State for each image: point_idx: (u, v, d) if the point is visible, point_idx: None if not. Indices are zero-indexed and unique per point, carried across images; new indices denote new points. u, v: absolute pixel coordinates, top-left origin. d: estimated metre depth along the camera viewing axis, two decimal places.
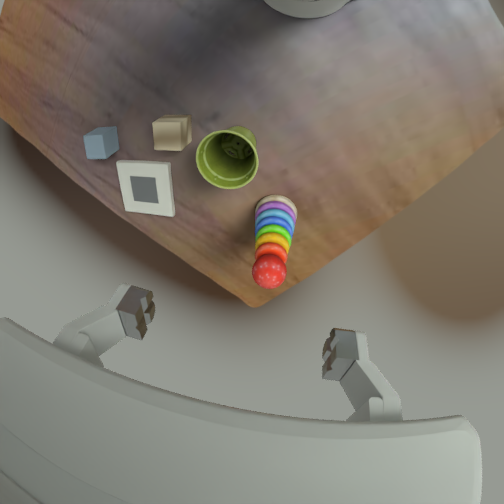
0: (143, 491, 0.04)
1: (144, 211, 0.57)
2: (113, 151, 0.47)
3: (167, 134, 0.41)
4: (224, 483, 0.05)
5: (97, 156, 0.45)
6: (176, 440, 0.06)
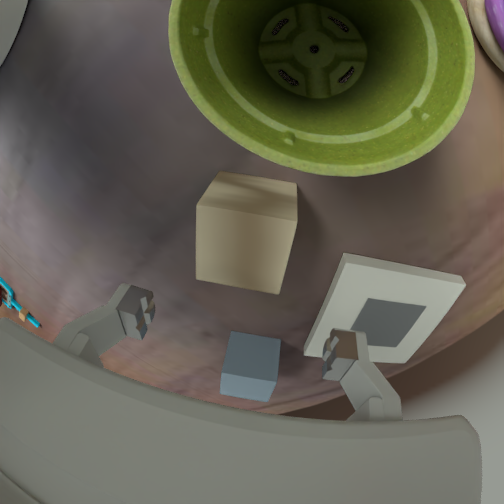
0: (143, 490, 0.04)
1: (425, 335, 0.23)
2: (275, 356, 0.25)
3: (233, 251, 0.15)
4: (224, 482, 0.05)
5: (267, 390, 0.24)
6: (176, 440, 0.06)
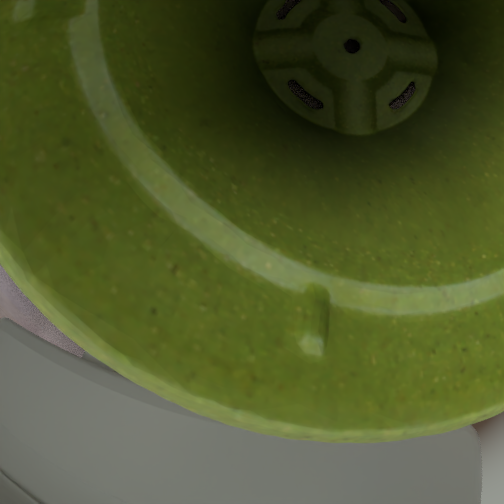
0: (143, 490, 0.04)
1: None
2: None
3: None
4: (224, 482, 0.05)
5: None
6: (176, 440, 0.06)
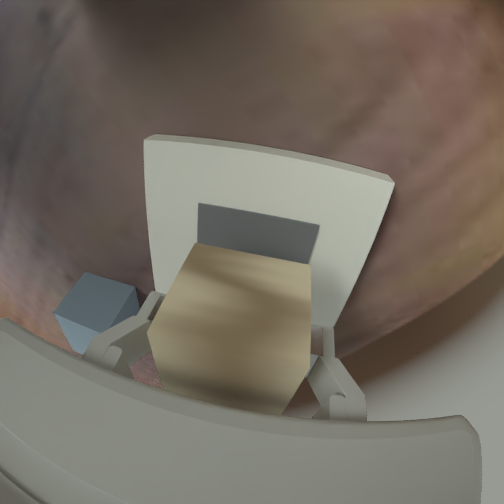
0: (142, 491, 0.04)
1: (343, 291, 0.15)
2: (118, 304, 0.18)
3: (211, 385, 0.09)
4: (224, 482, 0.05)
5: None
6: (176, 439, 0.06)
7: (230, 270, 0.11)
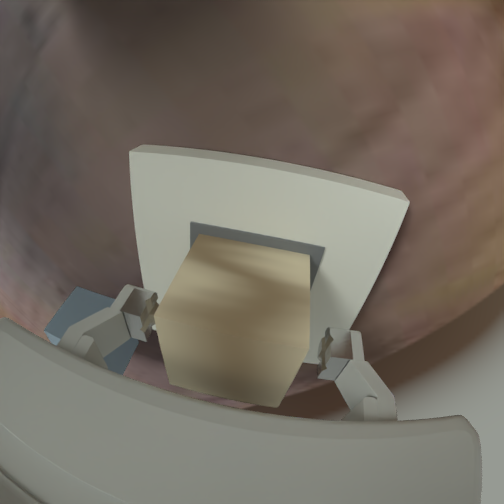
0: (142, 491, 0.04)
1: (349, 315, 0.14)
2: None
3: (214, 369, 0.10)
4: (224, 483, 0.05)
5: None
6: (176, 439, 0.06)
7: (233, 259, 0.11)
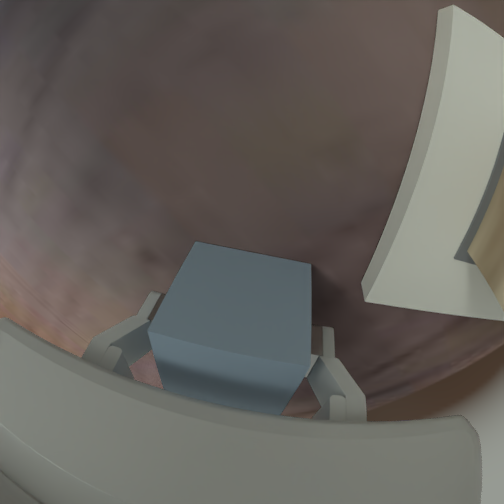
0: (143, 491, 0.04)
1: None
2: (301, 300, 0.10)
3: None
4: (224, 483, 0.05)
5: (279, 392, 0.09)
6: (176, 440, 0.06)
7: None
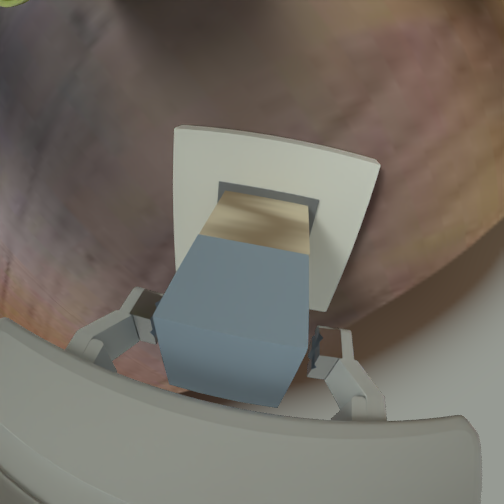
0: (142, 491, 0.04)
1: (341, 259, 0.18)
2: (299, 287, 0.10)
3: None
4: (224, 483, 0.05)
5: (279, 377, 0.09)
6: (176, 440, 0.06)
7: (252, 205, 0.15)
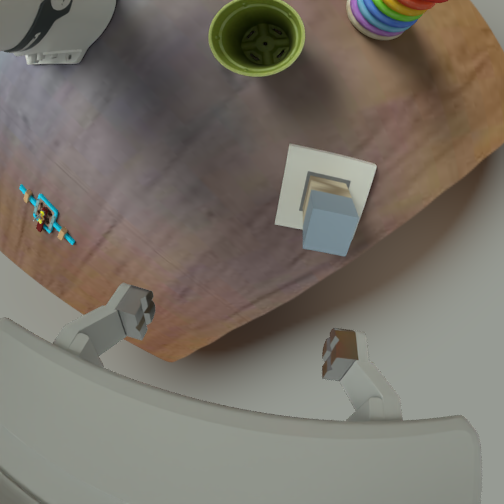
0: (142, 491, 0.04)
1: (360, 209, 0.37)
2: (351, 205, 0.30)
3: None
4: (224, 482, 0.05)
5: (349, 233, 0.29)
6: (176, 439, 0.06)
7: (324, 181, 0.34)
